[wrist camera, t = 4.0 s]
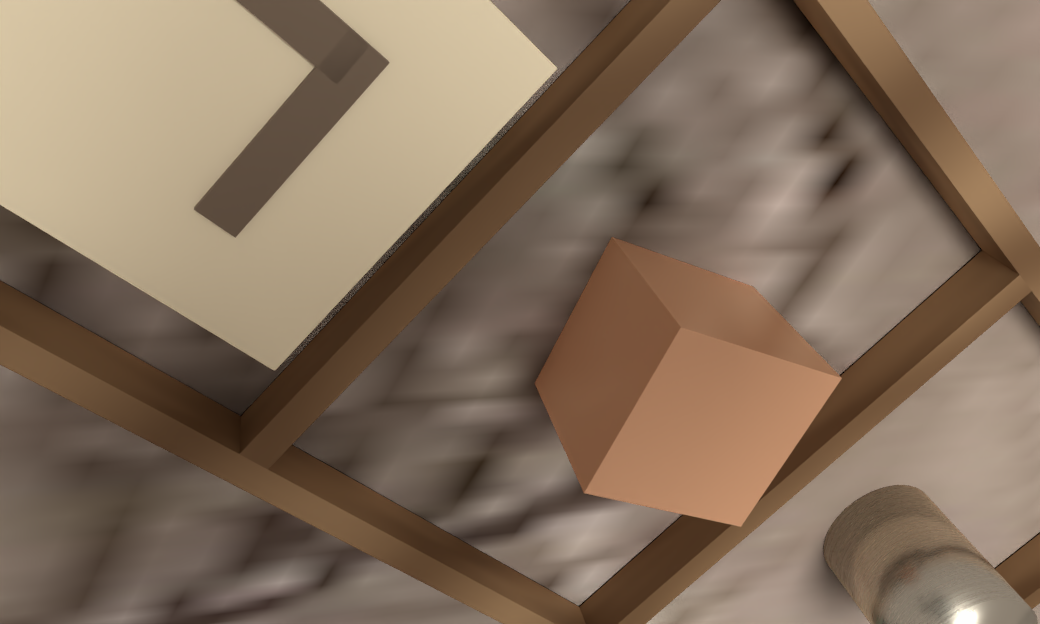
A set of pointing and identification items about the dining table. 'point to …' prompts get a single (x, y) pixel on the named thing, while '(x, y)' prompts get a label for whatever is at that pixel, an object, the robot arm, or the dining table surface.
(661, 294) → the terracotta block
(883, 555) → the grey metal canister
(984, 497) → the dining table surface
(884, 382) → the walnut rack
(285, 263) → the letter cube
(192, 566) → the dining table surface
